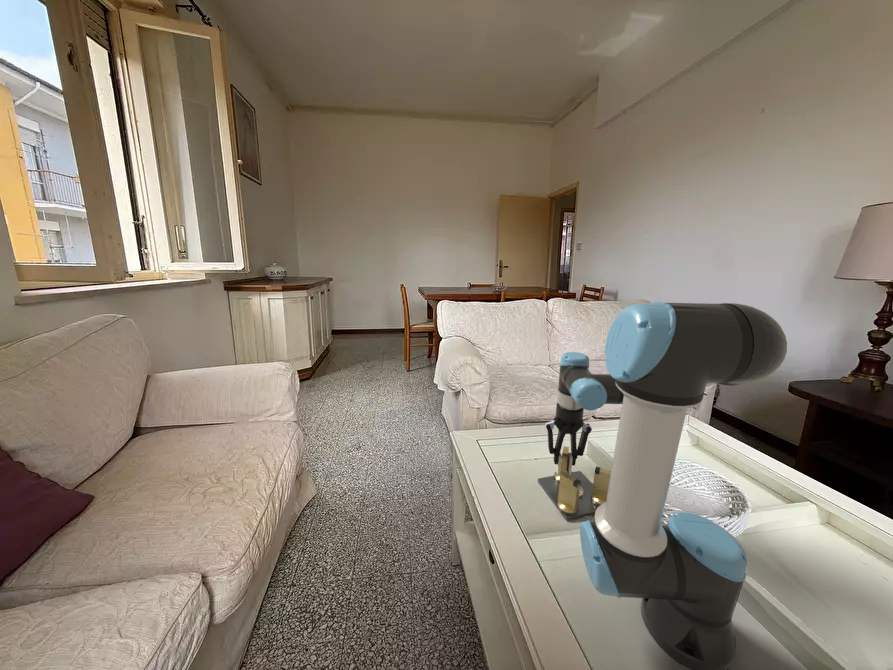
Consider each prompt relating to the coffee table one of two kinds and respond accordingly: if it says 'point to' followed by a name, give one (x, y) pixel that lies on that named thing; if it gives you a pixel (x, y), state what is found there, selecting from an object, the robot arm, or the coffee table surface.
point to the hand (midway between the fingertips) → (563, 472)
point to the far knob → (563, 463)
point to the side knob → (600, 485)
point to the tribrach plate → (585, 497)
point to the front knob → (568, 493)
